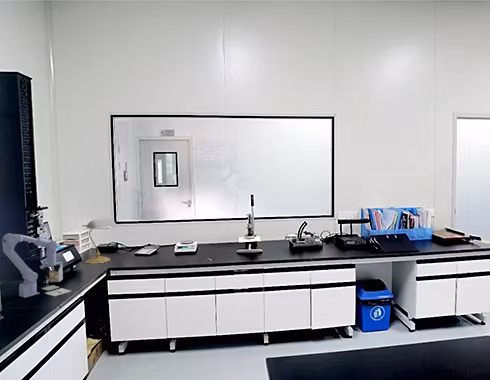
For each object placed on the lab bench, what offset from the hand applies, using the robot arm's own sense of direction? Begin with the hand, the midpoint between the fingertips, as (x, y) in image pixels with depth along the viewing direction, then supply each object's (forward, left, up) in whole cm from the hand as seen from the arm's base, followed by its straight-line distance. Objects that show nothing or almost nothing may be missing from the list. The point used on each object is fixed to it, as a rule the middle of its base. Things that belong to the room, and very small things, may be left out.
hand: (51, 276), depth 236 cm
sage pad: (0, +3, -9) cm, 9 cm away
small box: (+12, +18, -9) cm, 24 cm away
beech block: (0, -1, -2) cm, 2 cm away
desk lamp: (+68, +45, -9) cm, 82 cm away
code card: (-2, -10, -9) cm, 14 cm away
